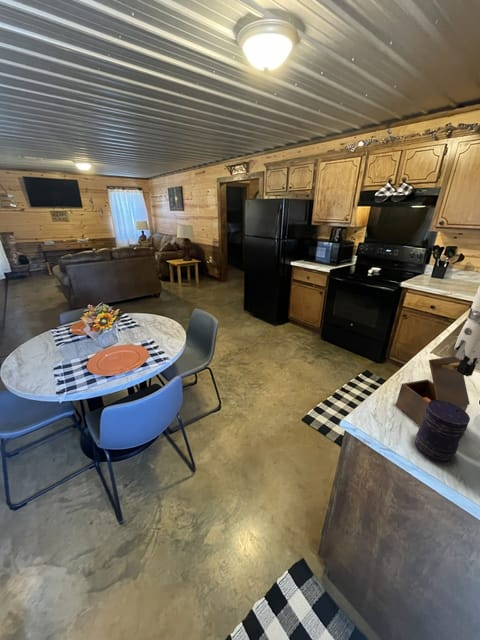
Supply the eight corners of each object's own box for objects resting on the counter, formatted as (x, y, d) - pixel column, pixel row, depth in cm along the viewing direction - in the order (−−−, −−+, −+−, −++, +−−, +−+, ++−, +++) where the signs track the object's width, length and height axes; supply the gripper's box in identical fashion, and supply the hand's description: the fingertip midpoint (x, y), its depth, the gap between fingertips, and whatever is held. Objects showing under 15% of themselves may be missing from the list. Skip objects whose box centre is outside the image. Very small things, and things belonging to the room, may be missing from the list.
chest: (395, 405, 98) (401, 383, 94) (420, 400, 101) (427, 379, 97) (430, 435, 85) (439, 411, 81) (458, 428, 88) (468, 405, 84)
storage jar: (429, 465, 75) (445, 425, 69) (406, 437, 84) (419, 400, 78) (461, 463, 76) (480, 423, 70) (436, 436, 85) (450, 398, 79)
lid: (428, 359, 83) (443, 360, 78) (457, 355, 86) (472, 355, 81) (438, 410, 81) (453, 413, 77) (467, 404, 84) (483, 406, 79)
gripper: (480, 325, 66) (456, 384, 74) (522, 319, 70) (496, 377, 77) (451, 314, 73) (432, 370, 80) (491, 310, 77) (470, 363, 84)
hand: (463, 373), depth 79 cm, fingers closed
